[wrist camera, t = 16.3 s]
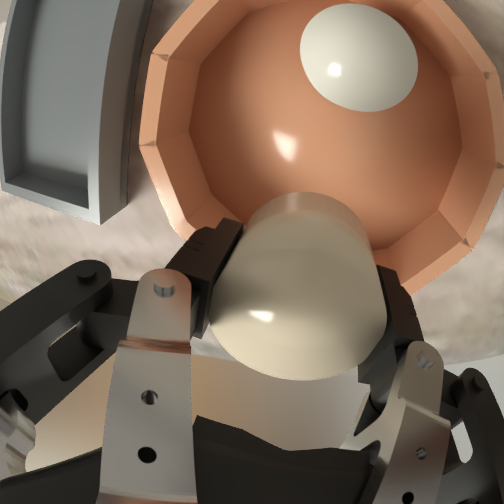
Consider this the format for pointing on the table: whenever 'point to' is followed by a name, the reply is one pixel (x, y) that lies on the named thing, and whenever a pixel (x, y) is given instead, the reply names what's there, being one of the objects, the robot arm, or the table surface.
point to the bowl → (325, 130)
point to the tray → (70, 102)
